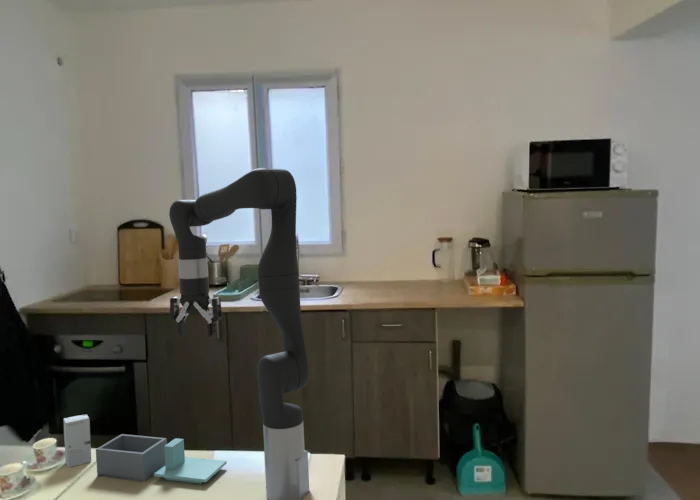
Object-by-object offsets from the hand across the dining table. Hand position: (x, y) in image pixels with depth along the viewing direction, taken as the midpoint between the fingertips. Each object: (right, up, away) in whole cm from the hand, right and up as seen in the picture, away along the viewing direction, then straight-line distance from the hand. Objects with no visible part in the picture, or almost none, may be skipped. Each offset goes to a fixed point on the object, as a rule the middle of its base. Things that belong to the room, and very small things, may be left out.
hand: (197, 336), depth 154 cm
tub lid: (+1, -34, -8) cm, 35 cm away
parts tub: (-15, -34, -4) cm, 38 cm away
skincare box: (-32, -34, +2) cm, 47 cm away
